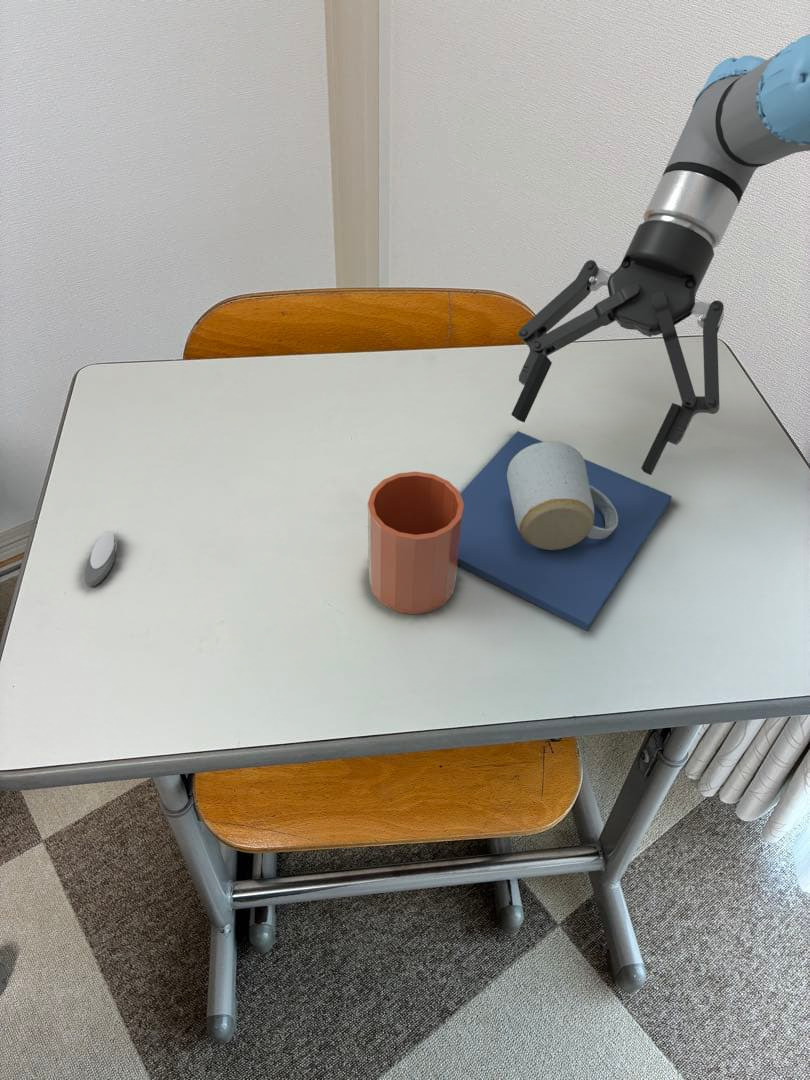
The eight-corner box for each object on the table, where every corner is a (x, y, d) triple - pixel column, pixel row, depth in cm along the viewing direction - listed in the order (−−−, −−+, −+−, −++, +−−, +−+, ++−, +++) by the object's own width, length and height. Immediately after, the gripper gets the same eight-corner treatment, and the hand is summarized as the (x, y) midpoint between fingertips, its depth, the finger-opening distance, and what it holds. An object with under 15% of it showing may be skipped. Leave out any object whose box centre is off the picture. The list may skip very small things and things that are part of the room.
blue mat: (669, 502, 82) (672, 495, 82) (587, 631, 71) (589, 624, 70) (516, 437, 89) (517, 430, 88) (418, 545, 77) (418, 538, 77)
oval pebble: (104, 590, 73) (101, 583, 72) (78, 587, 73) (75, 580, 72) (126, 538, 77) (123, 531, 76) (101, 536, 77) (98, 529, 76)
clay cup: (471, 572, 75) (480, 495, 68) (425, 628, 71) (430, 552, 63) (401, 536, 78) (403, 459, 71) (352, 588, 74) (349, 511, 66)
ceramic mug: (513, 557, 75) (525, 498, 70) (501, 496, 81) (512, 438, 75) (623, 555, 76) (644, 497, 70) (604, 495, 81) (622, 437, 76)
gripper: (809, 290, 74) (706, 500, 76) (565, 217, 83) (479, 406, 85) (818, 259, 67) (703, 491, 69) (550, 183, 76) (457, 390, 78)
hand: (579, 444), depth 77 cm, fingers open, 13 cm apart
